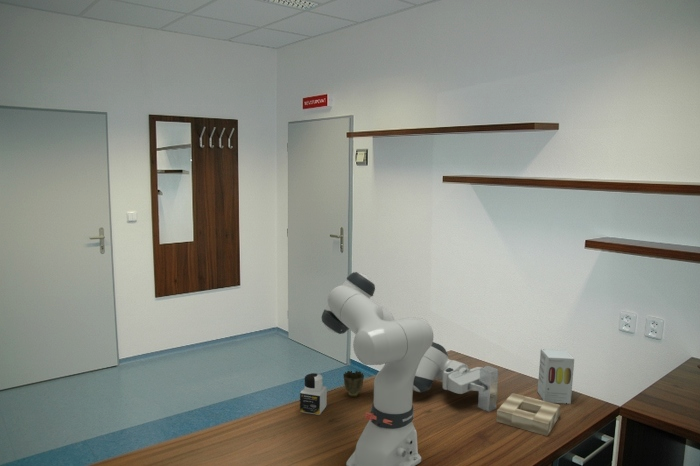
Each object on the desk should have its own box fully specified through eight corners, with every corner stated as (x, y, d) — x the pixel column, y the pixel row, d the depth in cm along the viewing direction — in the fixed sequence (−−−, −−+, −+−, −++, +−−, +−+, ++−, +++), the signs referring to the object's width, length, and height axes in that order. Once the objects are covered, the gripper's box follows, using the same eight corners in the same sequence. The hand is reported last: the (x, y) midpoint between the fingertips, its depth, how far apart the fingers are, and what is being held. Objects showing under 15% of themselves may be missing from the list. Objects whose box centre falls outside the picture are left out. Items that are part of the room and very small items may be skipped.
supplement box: (544, 402, 186) (547, 357, 184) (536, 391, 195) (539, 348, 193) (571, 404, 185) (575, 358, 183) (563, 392, 194) (566, 349, 192)
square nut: (547, 436, 163) (548, 424, 162) (496, 421, 172) (497, 410, 171) (559, 416, 176) (560, 405, 175) (511, 403, 185) (512, 392, 184)
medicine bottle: (299, 412, 176) (299, 378, 175) (307, 403, 183) (307, 370, 181) (319, 415, 174) (319, 380, 173) (326, 406, 181) (327, 372, 179)
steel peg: (488, 411, 178) (490, 372, 177) (478, 407, 182) (479, 368, 180) (496, 408, 181) (498, 369, 180) (485, 403, 185) (487, 365, 183)
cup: (364, 391, 193) (364, 370, 192) (362, 400, 186) (363, 378, 185) (344, 390, 194) (344, 369, 193) (342, 399, 186) (342, 377, 185)
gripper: (475, 376, 197) (507, 388, 187) (439, 389, 184) (471, 403, 174) (476, 360, 197) (508, 371, 186) (440, 372, 184) (472, 385, 173)
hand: (490, 387), depth 180 cm, fingers open, 5 cm apart
